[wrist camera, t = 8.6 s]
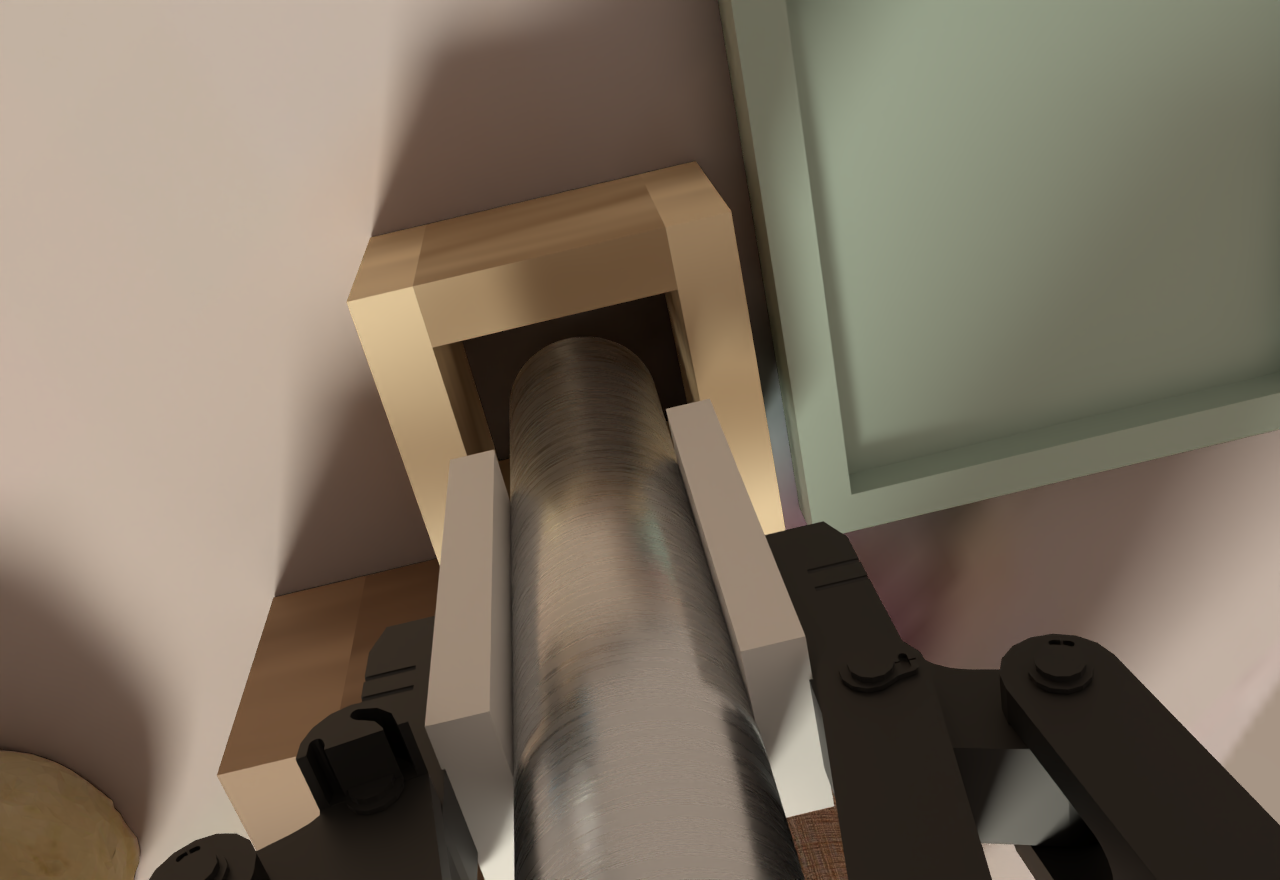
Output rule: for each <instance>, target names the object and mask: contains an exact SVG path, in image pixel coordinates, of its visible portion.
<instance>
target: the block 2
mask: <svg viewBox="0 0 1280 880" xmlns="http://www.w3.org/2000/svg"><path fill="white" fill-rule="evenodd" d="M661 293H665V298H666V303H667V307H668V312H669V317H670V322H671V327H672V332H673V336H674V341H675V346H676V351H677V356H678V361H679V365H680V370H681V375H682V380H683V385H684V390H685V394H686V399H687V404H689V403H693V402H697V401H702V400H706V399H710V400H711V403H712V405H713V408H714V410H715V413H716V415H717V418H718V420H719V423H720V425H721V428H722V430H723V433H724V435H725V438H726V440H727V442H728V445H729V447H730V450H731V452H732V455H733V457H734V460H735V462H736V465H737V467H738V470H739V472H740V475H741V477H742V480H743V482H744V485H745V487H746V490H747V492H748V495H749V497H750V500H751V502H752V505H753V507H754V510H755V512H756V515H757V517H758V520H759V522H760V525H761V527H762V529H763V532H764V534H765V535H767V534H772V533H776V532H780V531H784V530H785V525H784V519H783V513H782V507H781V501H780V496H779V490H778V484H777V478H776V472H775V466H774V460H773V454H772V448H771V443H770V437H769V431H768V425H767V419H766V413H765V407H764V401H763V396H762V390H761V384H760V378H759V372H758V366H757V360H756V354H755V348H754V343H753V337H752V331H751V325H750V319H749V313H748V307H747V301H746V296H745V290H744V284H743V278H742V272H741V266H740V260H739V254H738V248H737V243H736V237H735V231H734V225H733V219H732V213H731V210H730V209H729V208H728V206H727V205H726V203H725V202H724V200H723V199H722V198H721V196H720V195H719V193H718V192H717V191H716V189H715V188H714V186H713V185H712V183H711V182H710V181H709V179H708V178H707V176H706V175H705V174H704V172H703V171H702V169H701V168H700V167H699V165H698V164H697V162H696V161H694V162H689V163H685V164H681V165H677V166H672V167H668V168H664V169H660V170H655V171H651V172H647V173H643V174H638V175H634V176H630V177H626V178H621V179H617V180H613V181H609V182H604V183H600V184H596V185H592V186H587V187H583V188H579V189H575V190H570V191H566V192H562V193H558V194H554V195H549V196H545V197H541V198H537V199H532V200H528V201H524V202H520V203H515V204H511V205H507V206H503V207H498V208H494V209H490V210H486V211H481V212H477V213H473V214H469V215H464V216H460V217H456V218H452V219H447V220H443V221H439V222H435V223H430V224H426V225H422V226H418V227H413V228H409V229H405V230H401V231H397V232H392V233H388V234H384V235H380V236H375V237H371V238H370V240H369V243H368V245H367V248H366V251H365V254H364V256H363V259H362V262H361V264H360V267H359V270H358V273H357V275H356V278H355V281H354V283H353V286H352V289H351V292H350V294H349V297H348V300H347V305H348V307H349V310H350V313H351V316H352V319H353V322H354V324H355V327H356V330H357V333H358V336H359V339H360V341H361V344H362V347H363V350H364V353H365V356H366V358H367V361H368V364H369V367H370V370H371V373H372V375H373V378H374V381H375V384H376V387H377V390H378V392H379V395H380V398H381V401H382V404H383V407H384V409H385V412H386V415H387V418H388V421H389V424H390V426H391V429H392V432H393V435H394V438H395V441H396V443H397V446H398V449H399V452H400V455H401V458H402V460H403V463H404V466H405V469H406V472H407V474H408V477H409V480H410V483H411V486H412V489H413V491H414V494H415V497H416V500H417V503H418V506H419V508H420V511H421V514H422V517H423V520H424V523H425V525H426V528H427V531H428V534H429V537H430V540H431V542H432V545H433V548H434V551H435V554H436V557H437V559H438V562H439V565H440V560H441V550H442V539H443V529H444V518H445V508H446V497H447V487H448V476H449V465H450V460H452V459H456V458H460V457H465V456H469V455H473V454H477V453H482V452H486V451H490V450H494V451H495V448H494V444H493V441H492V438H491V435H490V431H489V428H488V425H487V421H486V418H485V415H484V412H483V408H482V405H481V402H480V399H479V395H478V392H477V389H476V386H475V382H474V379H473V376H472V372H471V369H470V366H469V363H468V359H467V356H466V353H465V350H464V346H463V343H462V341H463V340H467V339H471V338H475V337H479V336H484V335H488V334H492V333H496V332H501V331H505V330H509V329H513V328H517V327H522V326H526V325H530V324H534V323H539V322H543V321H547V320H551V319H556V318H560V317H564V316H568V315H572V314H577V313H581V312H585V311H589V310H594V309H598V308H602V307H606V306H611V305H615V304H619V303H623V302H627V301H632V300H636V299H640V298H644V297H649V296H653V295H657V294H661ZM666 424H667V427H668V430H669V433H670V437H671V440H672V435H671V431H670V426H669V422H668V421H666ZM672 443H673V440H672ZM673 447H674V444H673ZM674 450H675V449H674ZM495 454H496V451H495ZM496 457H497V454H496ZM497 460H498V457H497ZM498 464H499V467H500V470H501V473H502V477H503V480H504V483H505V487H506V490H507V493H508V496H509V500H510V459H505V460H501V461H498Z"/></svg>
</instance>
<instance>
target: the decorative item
mask: <svg viewBox="0 0 1280 880" xmlns="http://www.w3.org/2000/svg"><path fill="white" fill-rule="evenodd" d="M139 851H140V850H139V845H138V840H137V837H136V836H135V835H134V833H133V832H132V831H131V830H130V828H129V827H128V826H127V824H126V823H125V822H124V821H123V819H122V816H121V814H120V813H119V812H118V811H117V810H115V809H114V805H113V801H112V800H111V799H109V798H108V797H107V796H106V795H104V794H103V793H102V792H100V791H99V790H98V789H97V788H95V787H94V786H93V785H91V784H90V783H89V782H88V781H86V780H85V779H83V778H82V777H80V776H79V775H77V774H76V773H74V772H73V771H72V770H70V769H68V768H66V767H64V766H62V765H60V764H58V763H56V762H53V761H51V760H48V759H45V758H42V757H39V756H36V755H34V754H27V753H20V752H13V751H5V750H0V880H134V876H135V872H136V869H137V866H138V864H139Z"/></svg>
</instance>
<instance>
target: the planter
mask: <svg viewBox="0 0 1280 880" xmlns="http://www.w3.org/2000/svg"><path fill="white" fill-rule="evenodd" d="M831 790H832V788H831ZM832 796H833V802H834V806H833V807H829V808H825V809H821V810H816V811H812V812H808V813H804V814H800V815H795V816H791V817H787V818H786V819H787V822H788V825H789V829H790V832H791V835H792V838H793V842H794V845H795V848H796V852H797V855H798V858H799V861H800V865H801V868H802V871H803V875H804V878H805V880H848V876H847V870H846V864H845V857H844V851H843V844H842V838H841V832H840V825H839V819H838V813H837V806H836V800H835V796H834V794H833V791H832Z"/></svg>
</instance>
